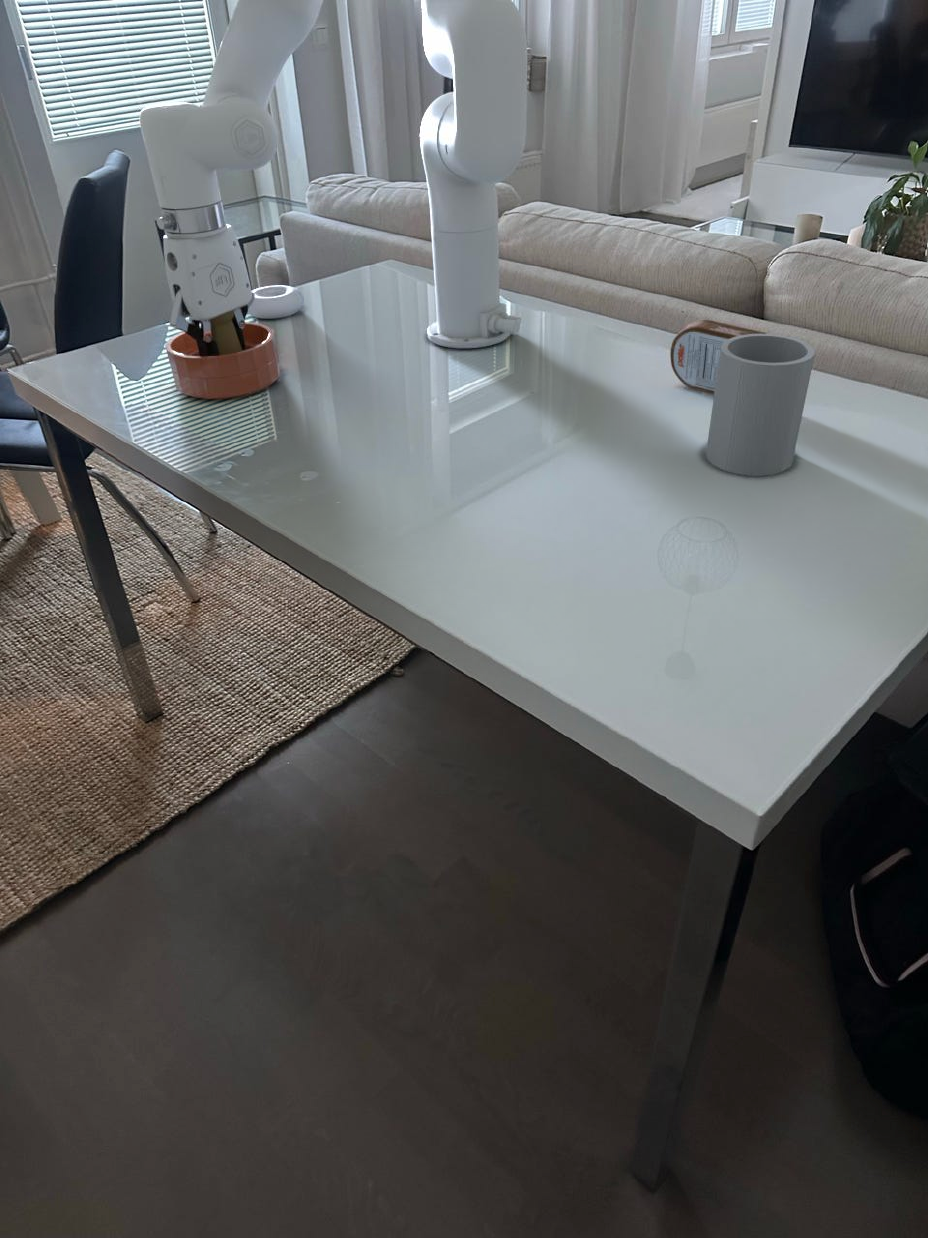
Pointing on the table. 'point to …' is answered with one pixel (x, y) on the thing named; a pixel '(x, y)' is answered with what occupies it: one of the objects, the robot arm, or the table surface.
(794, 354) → the cup
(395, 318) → the table surface
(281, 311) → the donut
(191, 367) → the basin
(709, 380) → the tin
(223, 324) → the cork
